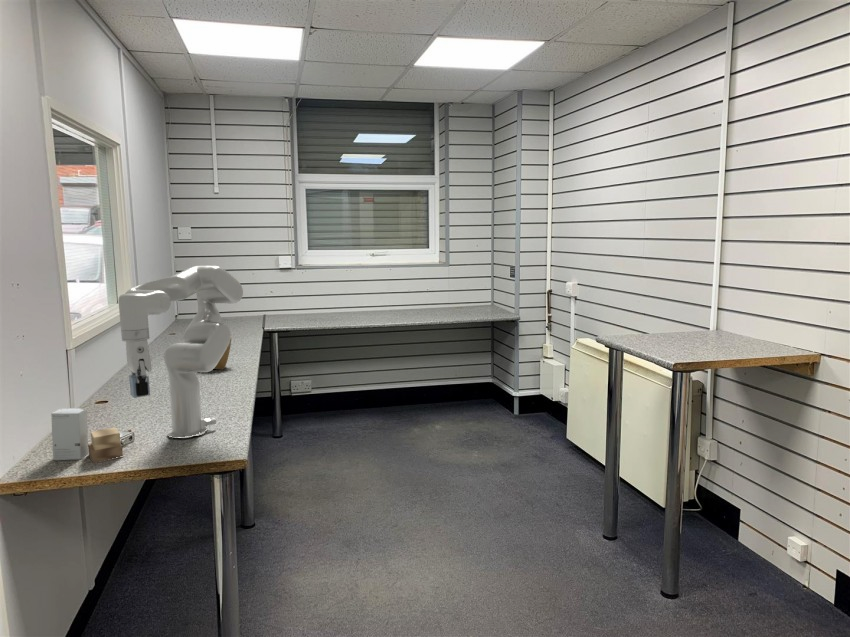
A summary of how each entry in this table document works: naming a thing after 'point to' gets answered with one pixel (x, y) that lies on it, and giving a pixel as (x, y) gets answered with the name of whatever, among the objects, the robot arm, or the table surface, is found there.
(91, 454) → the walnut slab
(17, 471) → the table surface
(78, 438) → the skincare box
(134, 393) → the blue block
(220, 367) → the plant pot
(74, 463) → the table surface
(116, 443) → the oak slab
